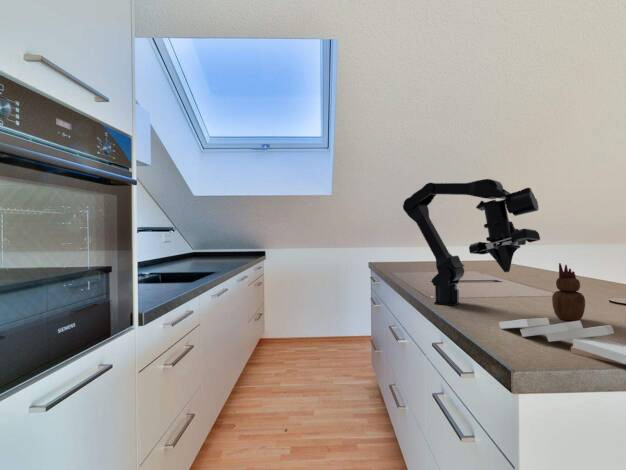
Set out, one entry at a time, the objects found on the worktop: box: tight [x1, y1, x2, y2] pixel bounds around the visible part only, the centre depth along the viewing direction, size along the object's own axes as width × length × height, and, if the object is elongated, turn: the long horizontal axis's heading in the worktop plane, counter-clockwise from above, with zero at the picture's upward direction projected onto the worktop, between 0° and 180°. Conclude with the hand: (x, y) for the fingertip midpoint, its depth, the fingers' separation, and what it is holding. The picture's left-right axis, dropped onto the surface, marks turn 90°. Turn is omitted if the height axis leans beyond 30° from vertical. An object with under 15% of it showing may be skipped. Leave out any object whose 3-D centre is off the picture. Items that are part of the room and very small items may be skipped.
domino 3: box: [545, 324, 615, 343], centre depth 66 cm, size 2×5×10 cm
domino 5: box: [570, 345, 626, 366], centre depth 61 cm, size 2×5×10 cm
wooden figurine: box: [551, 262, 586, 322], centre depth 86 cm, size 7×6×15 cm
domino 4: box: [572, 336, 626, 364], centre depth 59 cm, size 2×5×10 cm
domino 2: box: [519, 320, 584, 338], centre depth 70 cm, size 2×5×10 cm
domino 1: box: [498, 317, 551, 330], centre depth 75 cm, size 2×5×10 cm
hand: (506, 272), depth 91 cm, fingers closed
